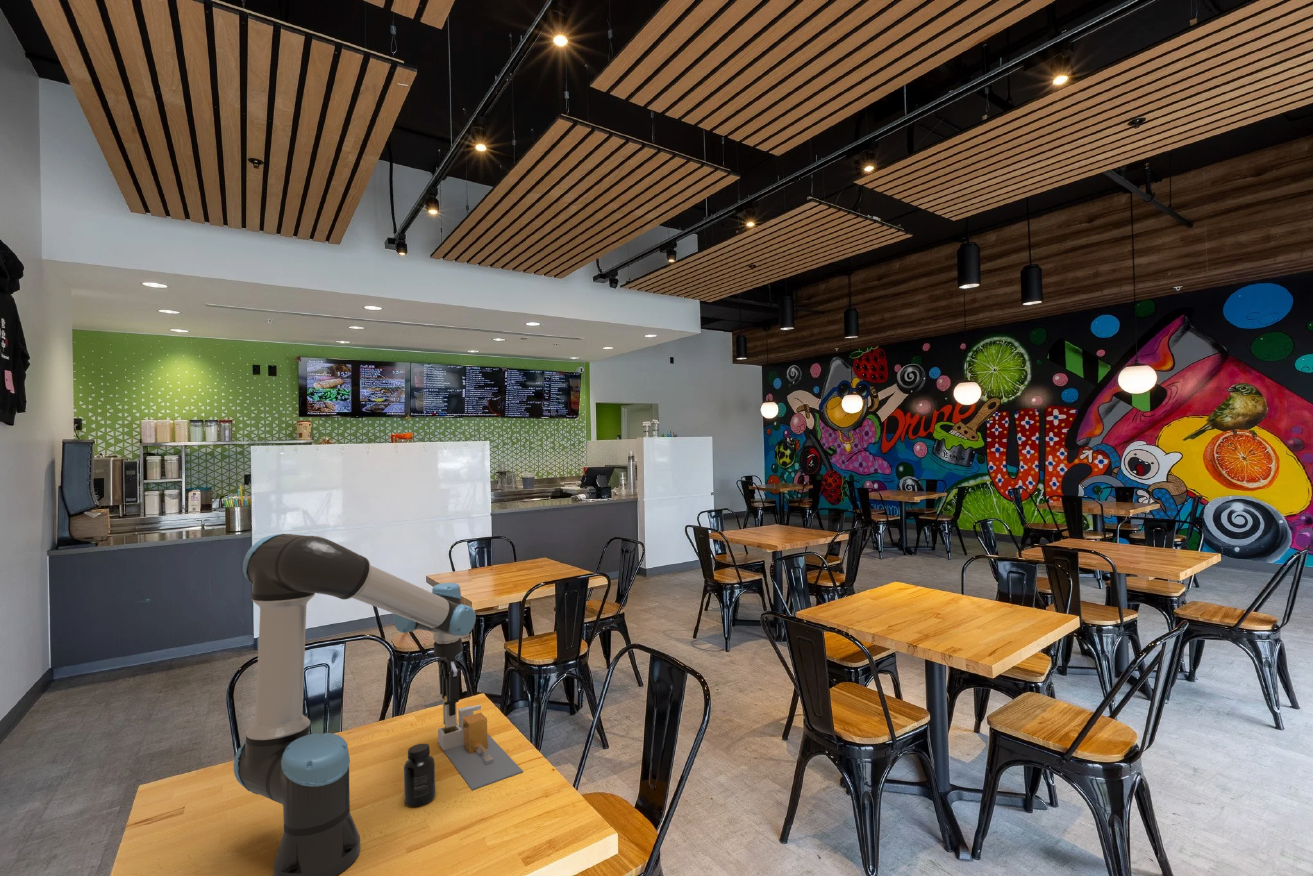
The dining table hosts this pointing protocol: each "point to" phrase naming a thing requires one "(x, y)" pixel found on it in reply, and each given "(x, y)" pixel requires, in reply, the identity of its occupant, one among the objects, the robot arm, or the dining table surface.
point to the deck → (476, 756)
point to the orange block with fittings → (476, 736)
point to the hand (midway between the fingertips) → (450, 724)
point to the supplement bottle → (419, 776)
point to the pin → (447, 730)
